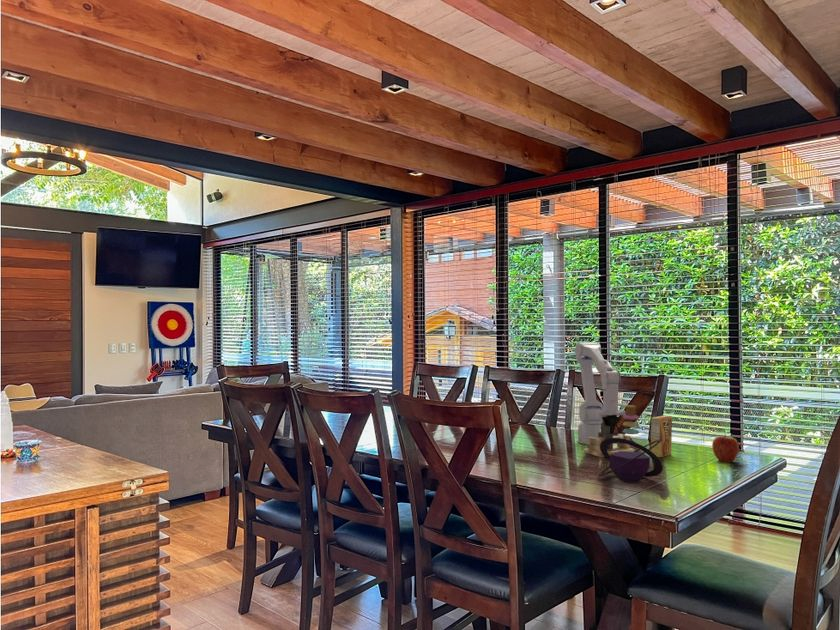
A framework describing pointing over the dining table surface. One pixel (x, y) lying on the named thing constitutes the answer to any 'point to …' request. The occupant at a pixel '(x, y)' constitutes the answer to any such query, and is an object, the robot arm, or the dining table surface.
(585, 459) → the dining table surface
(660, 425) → the candy box
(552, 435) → the dining table surface
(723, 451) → the apple
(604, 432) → the dark grey z bracket
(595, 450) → the pipe stand
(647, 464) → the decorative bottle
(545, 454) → the dining table surface
